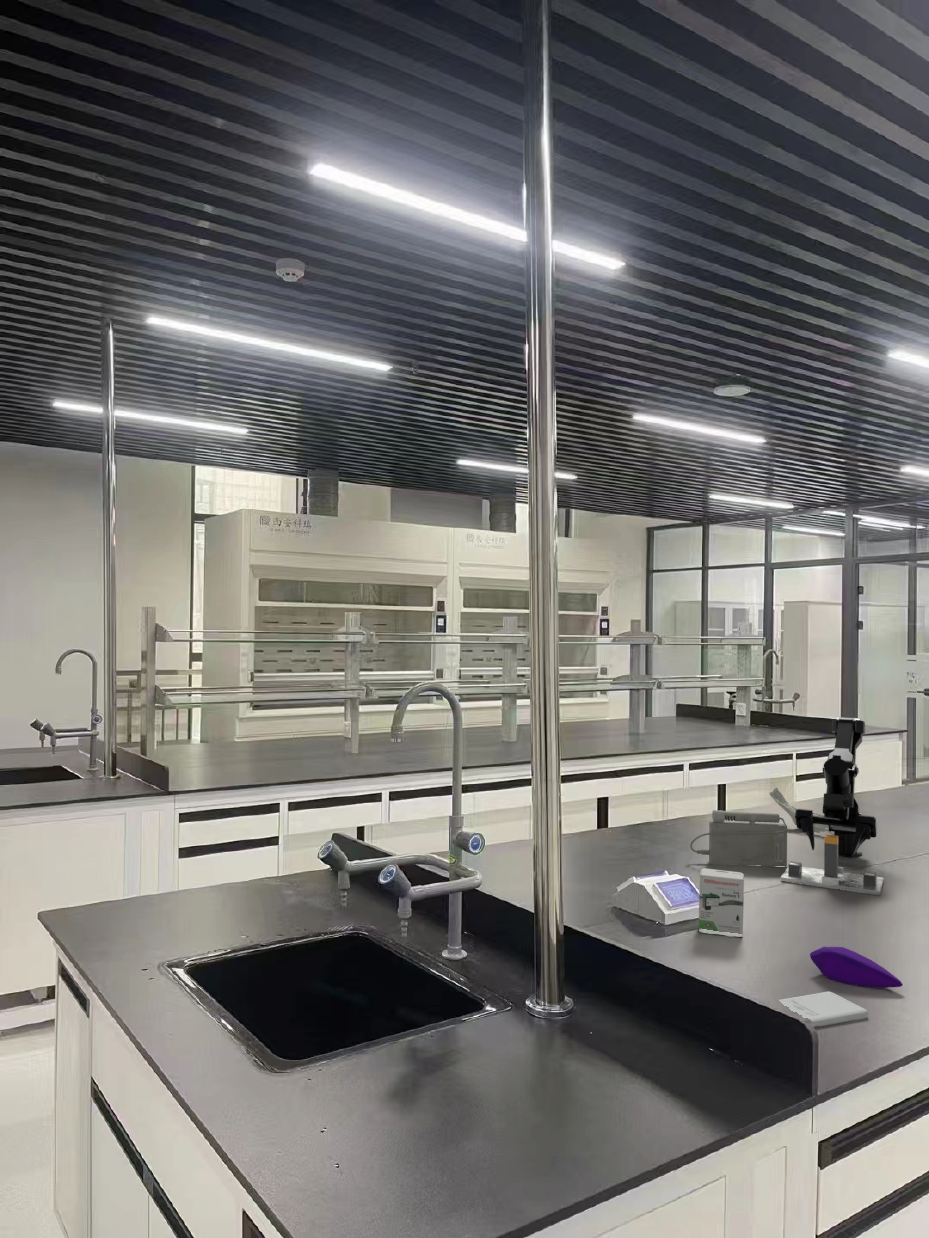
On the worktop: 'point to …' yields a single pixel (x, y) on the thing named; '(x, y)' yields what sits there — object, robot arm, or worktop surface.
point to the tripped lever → (831, 855)
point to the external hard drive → (825, 1008)
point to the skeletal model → (794, 810)
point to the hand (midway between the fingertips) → (832, 851)
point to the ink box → (721, 900)
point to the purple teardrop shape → (852, 968)
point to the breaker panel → (834, 879)
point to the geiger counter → (746, 839)
